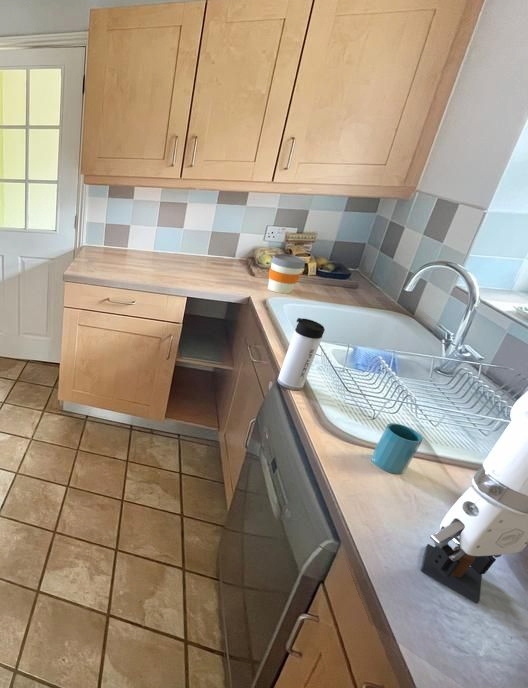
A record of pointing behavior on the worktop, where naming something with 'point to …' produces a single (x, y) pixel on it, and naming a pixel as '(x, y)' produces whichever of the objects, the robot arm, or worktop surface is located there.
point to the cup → (396, 448)
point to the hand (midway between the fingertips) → (455, 566)
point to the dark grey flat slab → (456, 575)
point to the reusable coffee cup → (284, 272)
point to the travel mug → (300, 354)
